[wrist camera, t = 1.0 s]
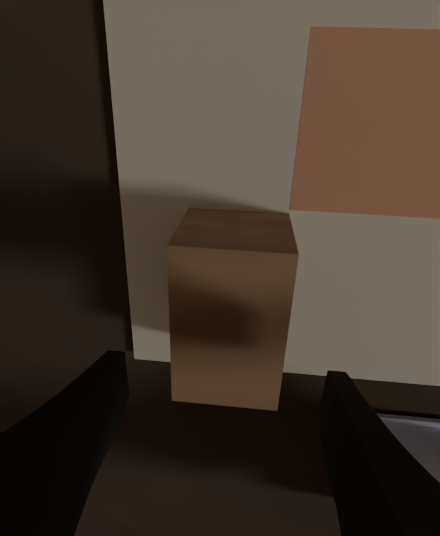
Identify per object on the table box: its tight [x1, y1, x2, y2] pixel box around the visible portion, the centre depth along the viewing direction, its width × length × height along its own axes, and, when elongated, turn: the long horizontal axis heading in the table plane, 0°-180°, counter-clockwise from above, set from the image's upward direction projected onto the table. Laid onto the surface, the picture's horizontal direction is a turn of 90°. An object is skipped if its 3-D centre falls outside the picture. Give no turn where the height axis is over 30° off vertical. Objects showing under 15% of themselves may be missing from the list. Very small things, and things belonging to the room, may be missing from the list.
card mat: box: [103, 0, 440, 386], centre depth 18 cm, size 20×19×1 cm
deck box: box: [167, 208, 299, 411], centre depth 18 cm, size 8×5×5 cm, turn 178°
